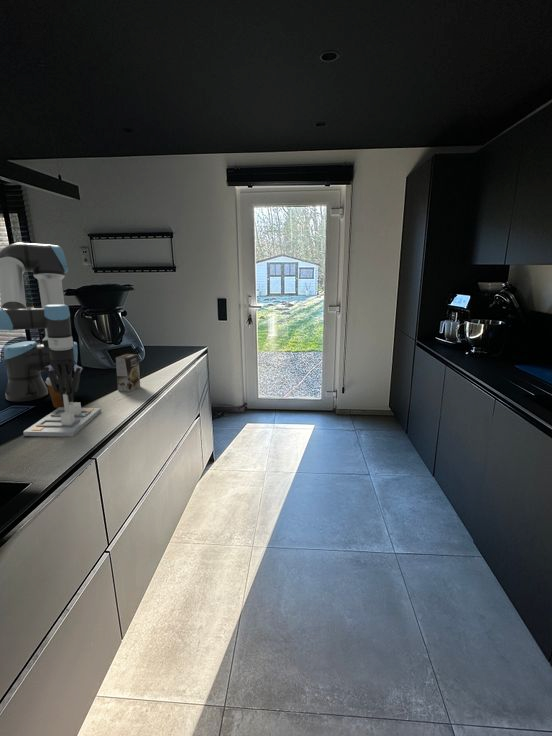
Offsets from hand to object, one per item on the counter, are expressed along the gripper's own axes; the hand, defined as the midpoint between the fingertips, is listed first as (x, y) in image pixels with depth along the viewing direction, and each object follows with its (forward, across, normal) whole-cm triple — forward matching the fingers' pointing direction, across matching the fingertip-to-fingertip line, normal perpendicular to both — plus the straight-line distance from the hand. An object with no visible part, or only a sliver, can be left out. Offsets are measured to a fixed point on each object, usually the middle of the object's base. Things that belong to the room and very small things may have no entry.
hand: (68, 409), depth 133 cm
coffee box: (+3, +9, +36) cm, 37 cm away
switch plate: (+3, +1, -4) cm, 5 cm away
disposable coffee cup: (+4, -9, +13) cm, 16 cm away
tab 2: (+2, +2, 0) cm, 3 cm away
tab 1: (+2, +4, -9) cm, 10 cm away
